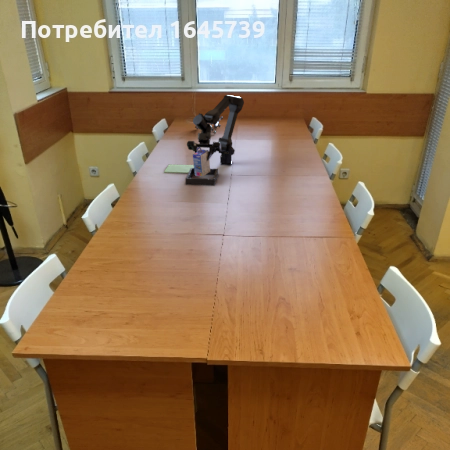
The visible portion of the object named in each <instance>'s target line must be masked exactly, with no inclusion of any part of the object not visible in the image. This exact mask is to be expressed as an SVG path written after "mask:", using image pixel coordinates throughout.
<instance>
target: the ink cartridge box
mask: <svg viewBox="0 0 450 450" xmlns="http://www.w3.org/2000/svg"><path fill="white" fill-rule="evenodd" d="M197 151H198V152H196V153H195V152H194V153H193V154H192V162H193V165H194V172H195V174H194V176H195V177H198V178H204V176H207V175H206V174H207V173H209V172H210V169H211V164H210V160H209V161H208V160H207V159H208V153H209V149H202V147H198V148H197Z"/></svg>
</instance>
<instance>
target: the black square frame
mask: <svg viewBox="0 0 450 450" xmlns="http://www.w3.org/2000/svg"><path fill="white" fill-rule="evenodd" d="M193 175H195V172H194V168H190V170H189V172H188V173H187V175H186V177H185V185H186V186H187V185H189V186H190V185H191V186H215V185H216V183H217V179H218V176H219V168H210V172H209V173H207V174H206V175H205V176H213V177H212V178H206V177H205V178H204V177H192V176H193Z"/></svg>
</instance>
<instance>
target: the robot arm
mask: <svg viewBox="0 0 450 450" xmlns="http://www.w3.org/2000/svg"><path fill="white" fill-rule="evenodd" d="M244 105H245V101H244V99H243V97H240V96H234V95H231V94H225V95H224V96H223V98H222V99H221V100H220V101H219V102H218V104H217V105H216V106H215V107H214V108H213V109H210V110H208V111H207V112H206V113H205V114H203V113H201V112H199V113H198V114H197V115H195V116H194V117H193V119H192V123H193V125H194V126H197V128H198V129H197V130H200V132H198V133H197V140H198V141H197V142H198V143H197V142H195V140H187V141H186V146H187V149H188V151H193V152H194V154H195V153H196V152H198V151H197V148H198V147H200V148H202V149H203V148H206V149H208V150H209V153H208V159H207V160H208V161H209V162H210V159H211V158H212V156H213V155H214V154H215V153H217V152H218V154H220V156H219V157H220V158H219V159H220V160H219V161H220V166H232V165H233V164H232V163H233V155H234V154H235V152H236V150H235V148H234V147H233V140H232V136H233V134H234V129H235V126H236V121H237V118H238V114H239V113H240V112H242V109H243V107H244ZM227 108H228V110H229V112H228V116H227V120H226V124H225V128H224V132H223V135H222V136H221V137H219V138H218V141H213V142H212V143H211V139H212V132H214V127H213V126H214V125H216V124H217V122H218V121H219V120H221V119H220V118H221V115H222V114H223V113H224V112H225V110H227ZM219 122H220V121H219ZM211 124H212V125H211Z"/></svg>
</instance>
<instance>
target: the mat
mask: <svg viewBox="0 0 450 450" xmlns="http://www.w3.org/2000/svg"><path fill="white" fill-rule="evenodd" d="M190 168H194V164H168V165H167V167H166V169H165V170H164V172H163V173H164V174H188V172H189V170H190Z"/></svg>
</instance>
